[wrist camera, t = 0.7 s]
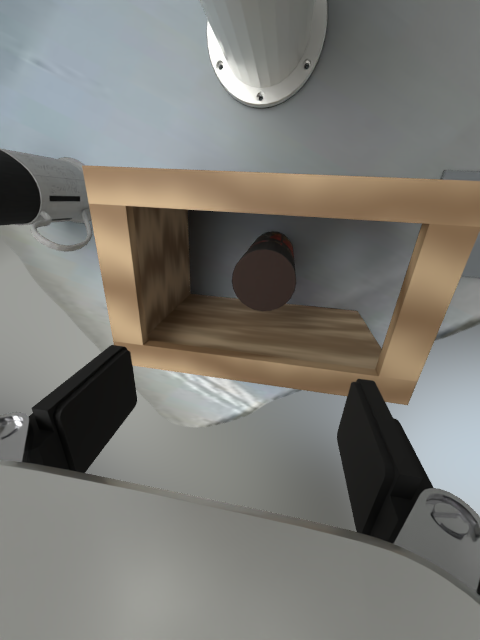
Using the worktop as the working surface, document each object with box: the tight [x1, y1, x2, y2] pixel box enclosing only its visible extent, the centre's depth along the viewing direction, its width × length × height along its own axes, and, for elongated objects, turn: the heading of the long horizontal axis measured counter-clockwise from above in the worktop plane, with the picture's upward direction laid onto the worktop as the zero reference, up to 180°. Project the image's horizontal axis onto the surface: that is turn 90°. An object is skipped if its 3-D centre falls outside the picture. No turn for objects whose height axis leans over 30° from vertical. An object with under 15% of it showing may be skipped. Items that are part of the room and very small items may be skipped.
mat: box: [441, 170, 480, 278], centre depth 32 cm, size 12×12×1 cm
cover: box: [82, 166, 480, 405], centre depth 29 cm, size 17×27×19 cm, turn 87°
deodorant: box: [232, 232, 296, 311], centre depth 31 cm, size 6×6×15 cm
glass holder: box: [0, 149, 92, 252], centre depth 32 cm, size 9×14×15 cm, turn 50°
